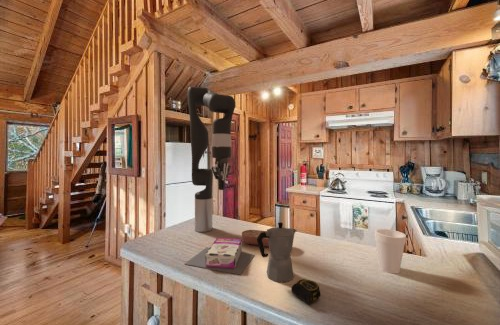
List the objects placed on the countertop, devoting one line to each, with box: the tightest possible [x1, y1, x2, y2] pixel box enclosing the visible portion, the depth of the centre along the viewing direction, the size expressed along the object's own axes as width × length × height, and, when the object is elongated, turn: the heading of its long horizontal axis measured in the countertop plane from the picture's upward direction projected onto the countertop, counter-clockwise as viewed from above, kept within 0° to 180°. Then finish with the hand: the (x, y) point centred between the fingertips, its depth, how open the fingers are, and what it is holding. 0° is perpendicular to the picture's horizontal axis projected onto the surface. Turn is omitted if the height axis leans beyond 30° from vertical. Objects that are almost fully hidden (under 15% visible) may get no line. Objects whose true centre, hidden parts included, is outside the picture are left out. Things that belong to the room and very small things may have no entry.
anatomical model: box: [241, 229, 269, 248], centre depth 102 cm, size 23×10×5 cm, turn 67°
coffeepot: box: [257, 221, 297, 283], centre depth 76 cm, size 15×9×18 cm, turn 116°
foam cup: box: [374, 228, 407, 274], centre depth 81 cm, size 10×9×13 cm
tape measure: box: [291, 278, 321, 305], centre depth 65 cm, size 7×7×4 cm
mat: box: [184, 246, 255, 276], centre depth 88 cm, size 16×22×1 cm
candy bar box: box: [205, 237, 243, 268], centre depth 89 cm, size 11×5×16 cm
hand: (221, 189), depth 90 cm, fingers closed
